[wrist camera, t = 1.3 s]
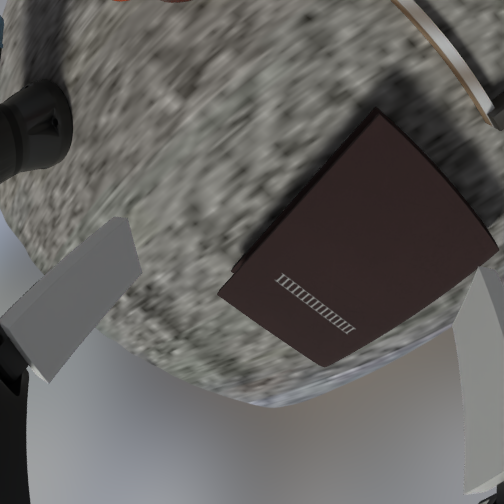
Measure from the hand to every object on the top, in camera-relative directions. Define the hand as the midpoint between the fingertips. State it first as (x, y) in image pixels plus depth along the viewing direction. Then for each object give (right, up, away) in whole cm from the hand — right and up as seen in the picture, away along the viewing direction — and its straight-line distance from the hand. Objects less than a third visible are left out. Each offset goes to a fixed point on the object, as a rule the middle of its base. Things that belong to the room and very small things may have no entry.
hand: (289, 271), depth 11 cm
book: (+11, +1, +26) cm, 28 cm away
